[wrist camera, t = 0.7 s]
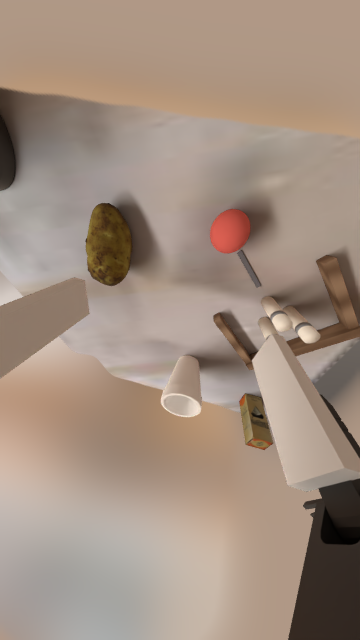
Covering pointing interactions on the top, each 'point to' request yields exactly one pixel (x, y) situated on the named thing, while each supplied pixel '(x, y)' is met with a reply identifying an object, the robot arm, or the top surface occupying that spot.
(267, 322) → the pin
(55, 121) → the top surface
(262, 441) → the shoe polish box
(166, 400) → the foam cup
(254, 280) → the thin gray bar
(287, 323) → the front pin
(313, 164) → the top surface
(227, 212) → the ball
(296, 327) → the pin
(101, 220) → the potato
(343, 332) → the rail
